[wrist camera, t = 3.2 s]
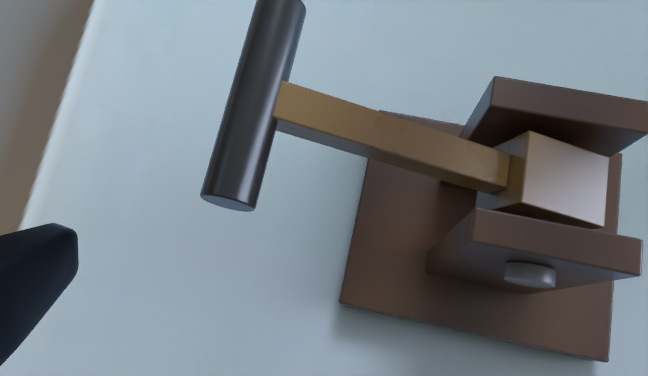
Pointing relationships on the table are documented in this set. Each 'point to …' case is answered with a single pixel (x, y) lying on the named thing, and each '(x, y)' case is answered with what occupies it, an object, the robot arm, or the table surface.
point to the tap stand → (499, 232)
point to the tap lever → (385, 139)
